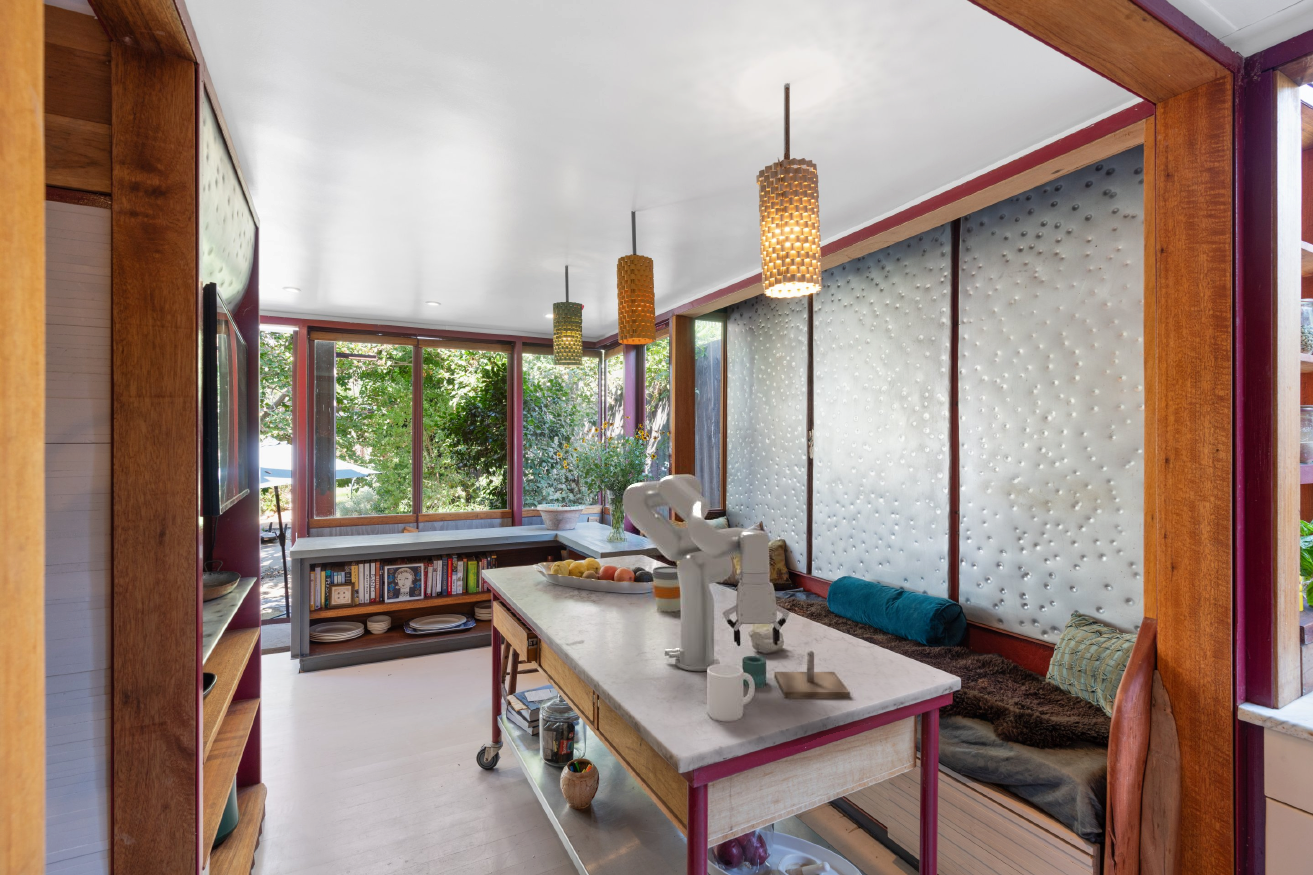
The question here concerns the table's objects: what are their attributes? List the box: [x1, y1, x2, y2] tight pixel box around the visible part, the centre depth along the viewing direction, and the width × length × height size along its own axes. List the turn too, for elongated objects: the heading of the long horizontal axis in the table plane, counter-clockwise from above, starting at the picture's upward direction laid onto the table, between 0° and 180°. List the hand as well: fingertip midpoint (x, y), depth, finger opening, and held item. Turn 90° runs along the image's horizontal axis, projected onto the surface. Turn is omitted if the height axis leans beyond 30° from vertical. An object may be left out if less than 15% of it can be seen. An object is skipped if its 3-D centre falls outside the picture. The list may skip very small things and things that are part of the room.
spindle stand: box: [773, 650, 851, 699], centre depth 163 cm, size 16×14×9 cm
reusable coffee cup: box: [651, 565, 681, 613], centre depth 241 cm, size 12×13×15 cm
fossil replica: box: [747, 623, 785, 654], centre depth 192 cm, size 12×8×10 cm
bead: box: [741, 655, 767, 688], centre depth 166 cm, size 6×6×6 cm
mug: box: [706, 663, 756, 723], centre depth 147 cm, size 12×8×10 cm
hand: (756, 644), depth 166 cm, fingers open, 9 cm apart
